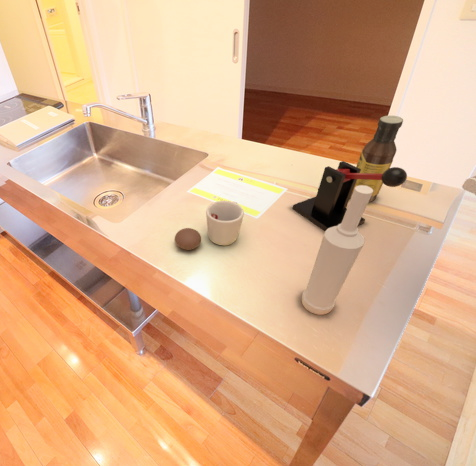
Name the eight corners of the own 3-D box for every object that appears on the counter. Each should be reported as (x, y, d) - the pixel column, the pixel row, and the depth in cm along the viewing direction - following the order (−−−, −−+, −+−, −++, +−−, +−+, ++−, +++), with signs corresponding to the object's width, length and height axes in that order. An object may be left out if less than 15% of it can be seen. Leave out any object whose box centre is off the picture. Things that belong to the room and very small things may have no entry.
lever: (412, 184, 58) (411, 164, 57) (397, 190, 57) (396, 170, 56) (341, 180, 71) (340, 165, 70) (328, 185, 70) (327, 169, 70)
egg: (169, 244, 76) (169, 231, 73) (188, 233, 78) (188, 220, 75) (187, 257, 72) (187, 244, 69) (206, 245, 74) (207, 232, 71)
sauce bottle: (355, 186, 83) (386, 110, 70) (381, 196, 79) (418, 117, 66) (340, 195, 81) (368, 118, 68) (365, 206, 77) (400, 126, 64)
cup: (218, 217, 81) (220, 190, 76) (249, 226, 77) (253, 198, 72) (199, 242, 75) (200, 215, 70) (232, 253, 71) (235, 226, 65)
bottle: (295, 295, 60) (333, 182, 44) (321, 290, 60) (369, 176, 44) (310, 318, 56) (357, 203, 40) (338, 313, 56) (398, 196, 40)
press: (363, 223, 72) (385, 174, 64) (332, 236, 71) (350, 187, 63) (321, 197, 81) (335, 151, 73) (292, 208, 80) (303, 162, 71)
